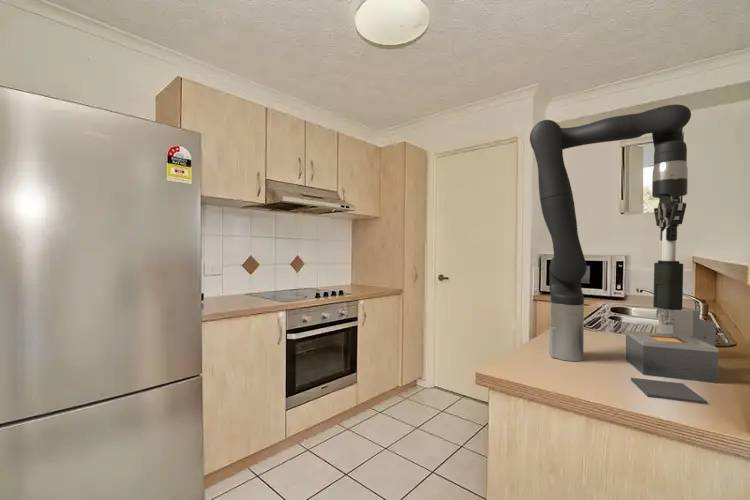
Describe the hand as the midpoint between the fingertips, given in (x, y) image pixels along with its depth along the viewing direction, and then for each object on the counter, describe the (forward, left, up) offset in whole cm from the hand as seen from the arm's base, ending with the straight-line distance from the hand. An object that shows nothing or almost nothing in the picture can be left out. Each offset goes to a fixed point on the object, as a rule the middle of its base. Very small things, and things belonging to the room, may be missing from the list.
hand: (668, 240), depth 96 cm
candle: (0, 0, -19) cm, 19 cm away
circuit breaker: (+14, +22, -37) cm, 45 cm away
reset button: (+1, +1, -35) cm, 35 cm away
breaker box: (+1, +1, -37) cm, 37 cm away
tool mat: (-6, -17, -37) cm, 41 cm away
